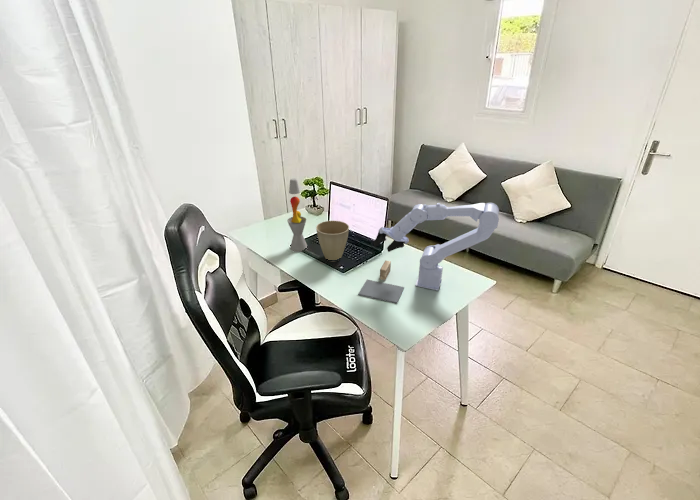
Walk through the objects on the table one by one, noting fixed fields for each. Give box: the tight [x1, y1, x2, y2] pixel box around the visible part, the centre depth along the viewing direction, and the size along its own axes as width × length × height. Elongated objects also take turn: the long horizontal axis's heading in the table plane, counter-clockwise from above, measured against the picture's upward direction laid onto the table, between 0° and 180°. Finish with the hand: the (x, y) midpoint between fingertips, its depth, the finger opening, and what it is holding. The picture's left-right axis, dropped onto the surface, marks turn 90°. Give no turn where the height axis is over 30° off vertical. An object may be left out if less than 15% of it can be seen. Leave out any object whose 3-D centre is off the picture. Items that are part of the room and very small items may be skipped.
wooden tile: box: [379, 260, 392, 281], centre depth 154 cm, size 2×8×5 cm, turn 159°
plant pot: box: [315, 220, 350, 261], centre depth 164 cm, size 15×15×16 cm
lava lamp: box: [287, 178, 308, 253], centre depth 169 cm, size 9×9×35 cm
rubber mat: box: [358, 279, 405, 304], centre depth 144 cm, size 16×11×1 cm
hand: (381, 247), depth 149 cm, fingers open, 7 cm apart
